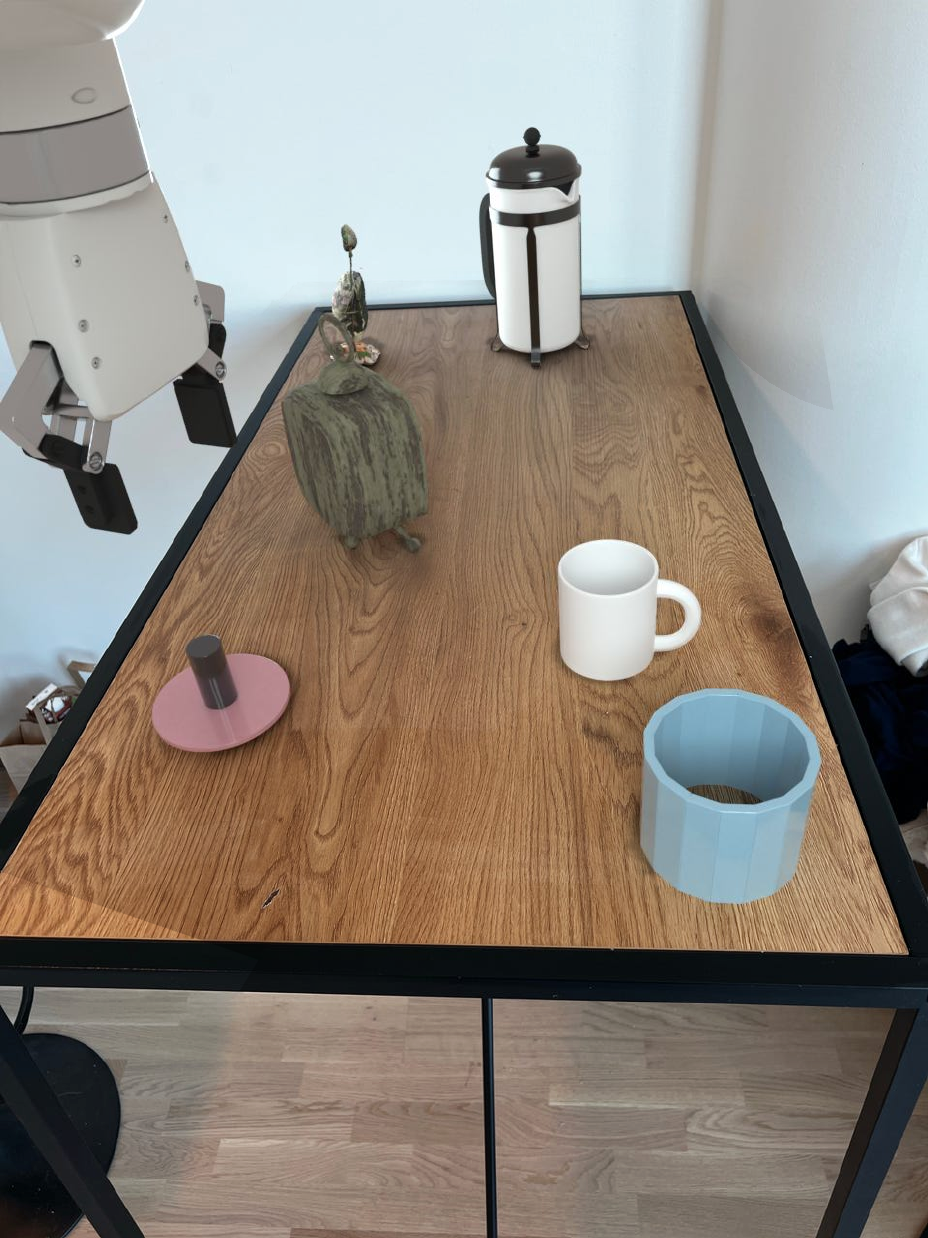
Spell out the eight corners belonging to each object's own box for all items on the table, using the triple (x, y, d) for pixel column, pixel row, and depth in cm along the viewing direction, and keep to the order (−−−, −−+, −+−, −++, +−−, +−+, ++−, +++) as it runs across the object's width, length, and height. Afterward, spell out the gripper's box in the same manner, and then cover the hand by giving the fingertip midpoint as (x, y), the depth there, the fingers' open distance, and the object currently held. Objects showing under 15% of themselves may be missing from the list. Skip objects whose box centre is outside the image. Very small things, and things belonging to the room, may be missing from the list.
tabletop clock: (437, 553, 100) (408, 324, 84) (362, 585, 96) (317, 353, 81) (373, 499, 110) (337, 286, 94) (304, 527, 106) (254, 310, 91)
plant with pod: (388, 340, 148) (369, 207, 136) (375, 370, 139) (354, 231, 127) (338, 343, 149) (314, 211, 137) (322, 372, 140) (296, 234, 128)
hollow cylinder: (810, 919, 62) (835, 815, 56) (641, 910, 64) (646, 809, 57) (785, 792, 71) (804, 689, 64) (637, 787, 72) (641, 687, 66)
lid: (270, 759, 77) (250, 696, 73) (133, 755, 79) (106, 693, 74) (306, 663, 86) (291, 601, 82) (183, 661, 88) (161, 601, 84)
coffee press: (597, 326, 145) (596, 110, 127) (583, 369, 133) (581, 137, 115) (487, 326, 149) (472, 117, 131) (465, 368, 137) (444, 144, 119)
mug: (696, 635, 86) (705, 541, 79) (697, 697, 79) (706, 601, 73) (565, 629, 88) (563, 537, 82) (555, 688, 82) (552, 594, 75)
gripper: (116, 120, 51) (198, 411, 61) (-152, 213, 38) (9, 557, 49) (232, 117, 48) (298, 421, 59) (-15, 217, 36) (124, 579, 46)
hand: (166, 483), depth 54 cm, fingers open, 9 cm apart
